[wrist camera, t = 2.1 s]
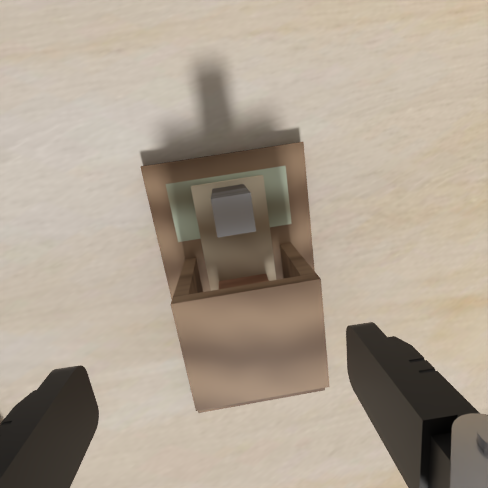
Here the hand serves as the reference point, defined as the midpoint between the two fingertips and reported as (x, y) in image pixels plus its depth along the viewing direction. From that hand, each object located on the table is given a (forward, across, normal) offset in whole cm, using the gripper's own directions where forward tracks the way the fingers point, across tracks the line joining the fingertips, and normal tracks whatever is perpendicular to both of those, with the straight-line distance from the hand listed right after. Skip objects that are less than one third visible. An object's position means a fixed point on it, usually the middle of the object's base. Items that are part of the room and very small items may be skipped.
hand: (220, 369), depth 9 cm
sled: (+23, -1, +7) cm, 24 cm away
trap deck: (+25, -1, +9) cm, 26 cm away
